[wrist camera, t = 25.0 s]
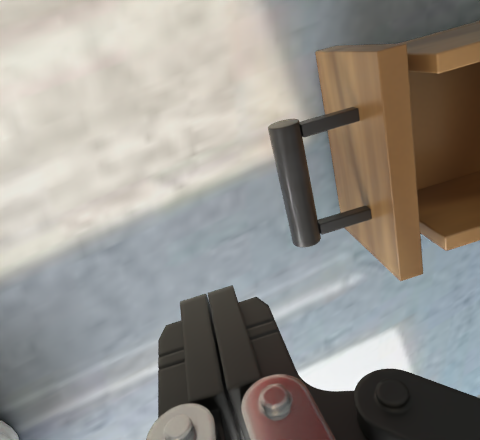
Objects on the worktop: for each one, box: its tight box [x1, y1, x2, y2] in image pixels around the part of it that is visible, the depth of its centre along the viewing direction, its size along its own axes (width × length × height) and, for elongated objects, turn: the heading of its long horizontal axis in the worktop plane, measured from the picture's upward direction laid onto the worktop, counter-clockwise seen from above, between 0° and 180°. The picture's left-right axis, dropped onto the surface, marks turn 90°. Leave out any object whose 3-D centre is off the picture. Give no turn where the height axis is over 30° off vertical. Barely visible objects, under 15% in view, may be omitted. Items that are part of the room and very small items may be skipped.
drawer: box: [268, 21, 480, 281], centre depth 21 cm, size 18×10×7 cm, turn 104°
